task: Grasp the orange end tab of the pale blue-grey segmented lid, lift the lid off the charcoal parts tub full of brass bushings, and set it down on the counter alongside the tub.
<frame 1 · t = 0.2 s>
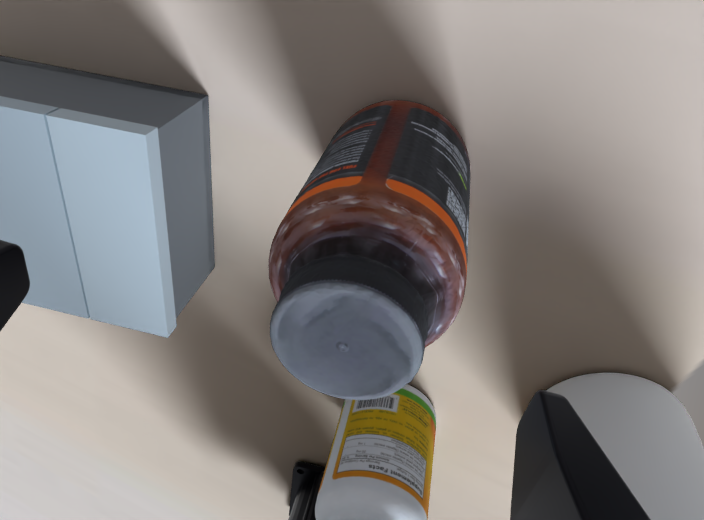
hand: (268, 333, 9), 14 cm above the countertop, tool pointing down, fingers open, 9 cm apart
lid: (40, 210, 22), point 4 cm above the countertop, touching tub
tub: (103, 167, 26), on the countertop
pill bottle: (603, 419, 28), on the countertop
supplement bottle 2: (390, 406, 31), on the countertop
supplement bottle: (400, 164, 23), on the countertop
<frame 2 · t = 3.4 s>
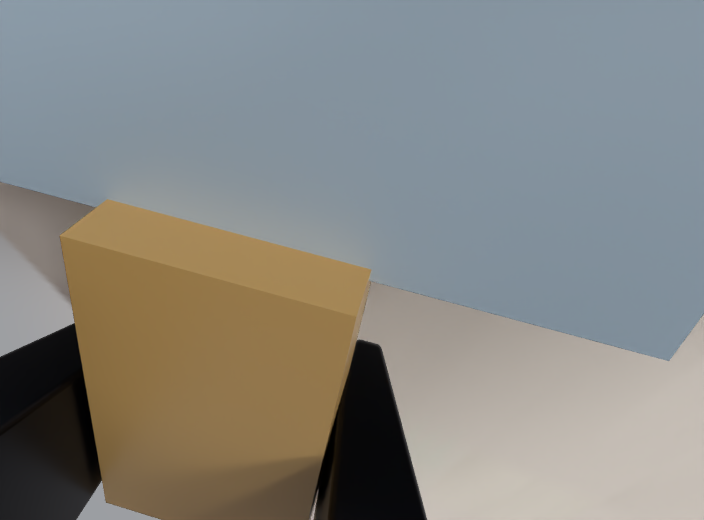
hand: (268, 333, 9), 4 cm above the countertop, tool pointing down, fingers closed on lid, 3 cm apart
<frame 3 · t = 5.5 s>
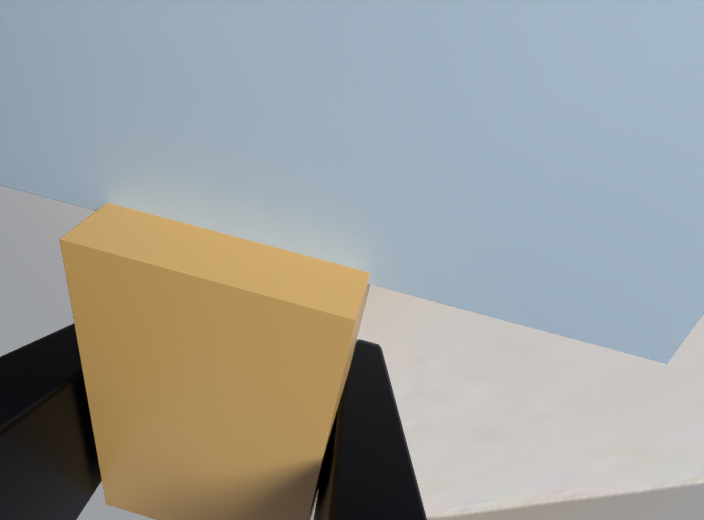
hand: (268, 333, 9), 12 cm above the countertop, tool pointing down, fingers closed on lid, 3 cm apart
when the fingers open (1 cm above the countertop, at t = 7.9 s): lid drops 3 cm, on the countertop.
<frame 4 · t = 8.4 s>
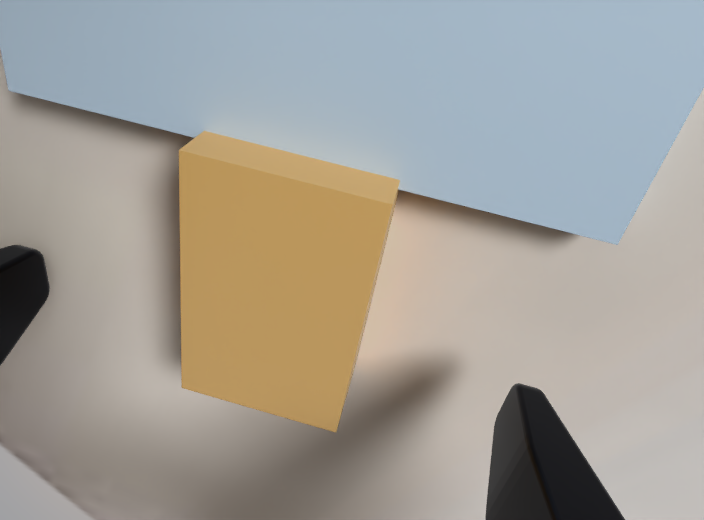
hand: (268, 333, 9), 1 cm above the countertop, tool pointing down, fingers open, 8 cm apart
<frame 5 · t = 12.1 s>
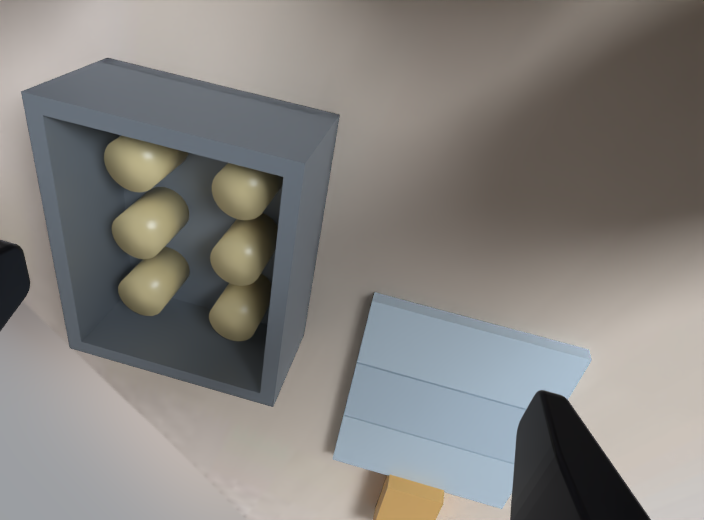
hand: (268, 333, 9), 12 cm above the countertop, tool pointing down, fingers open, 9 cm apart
lid: (445, 404, 26), on the countertop
tub: (217, 213, 23), on the countertop
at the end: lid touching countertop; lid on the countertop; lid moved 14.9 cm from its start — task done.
